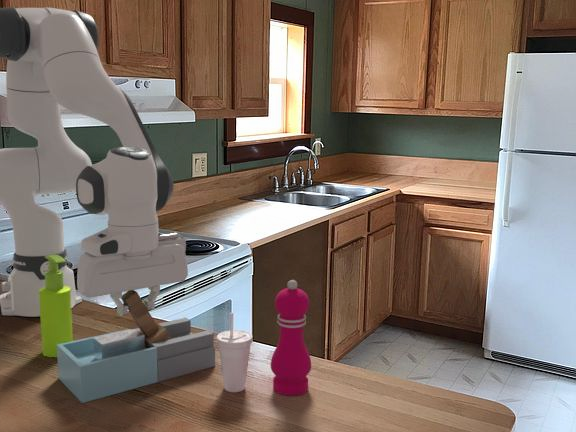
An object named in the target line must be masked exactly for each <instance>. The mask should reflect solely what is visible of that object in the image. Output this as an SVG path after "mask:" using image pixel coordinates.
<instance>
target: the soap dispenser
mask: <svg viewBox="0 0 576 432" xmlns="http://www.w3.org/2000/svg"><path fill="white" fill-rule="evenodd" d="M46 259H48V260H49V270H48V271H47V272H45V287H44V288H42V289H40V290H39V302H40V316H39V317H40V333H41V335H40V336H41V352H42V355H43V356H44V357H46V356H47V357H46V358H52V357H54V358H57V344H62V343H67V342H71V341H74V339H73V337H74V336H73V334H74V333H73V315H72V308H71V290H70V287H68V286H64V283H63V271H60V270H59V269H58V264H61V263H65V262H66V261H65V260H64V259H63V258H62V257H61V256H59V255H48V256H46Z"/></svg>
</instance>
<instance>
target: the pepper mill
mask: <svg viewBox="0 0 576 432" xmlns="http://www.w3.org/2000/svg"><path fill="white" fill-rule="evenodd" d="M286 286H287V287H286V288H283V289H282V290H280V291H279V292H278V293H277V295H276V296H275V299H274V307H275V309H276V311H277V313H278V314H277V322H276V323H277V324H278V325H279V329H280V333H279V340H278V343H277V345H276V347H275V350H274V351H273V354H272V356H271V359H270V369H271V371H272V373H273V374H274V377H273V380H272V384H273V385H272V388H273V390H274V391H275V392H276V393H278V395H279V394H280V395H281V396H282V395H283V396H289V397H290V396H291V397H292V396H300V395H302V394H304V393H306V392H307V391H308V388H309V378H308V375H309V373H310V372H311V370H312V359H311V355H310V352H309V351H308V348H307V346H306V343H305V340H304V326H305V325H306V324H307V321H306V320H307V316H306V315H305V314H306V313H307V312H308V310H309V308H310V299H309V296H308V294H307V292H305V291H304V290H303V289H300V288H298V283H297V281H296V280H295V279H291V280H289V281H288V282H287V285H286Z"/></svg>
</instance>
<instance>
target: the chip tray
mask: <svg viewBox="0 0 576 432" xmlns="http://www.w3.org/2000/svg"><path fill="white" fill-rule="evenodd" d="M127 330H131V329H130V328H128V329H124V330H123V329H122V330H118V331H114V332H113V331H112V332H109V333H105V334H101V335H95V336H90V337H85V338H81V339H77V340H73V341H71V342H67V343H62V344H57V357H56V359H57V374H58V375H57V376H58V379H59V380H60V382H61V383H62V384H64V386H65V387H66V388H67V389H68V390H69V391H70V393H72V395H73V396H75V398H76V399H77V400H78V401H79V402H80V403H81V404H84V403H89V402H91V401H95V400H99V399H102V398H105V397H109V396H112V395H117V394H120V393H124V392H128V391H131V390H134V389H138V388H142V387H145V386H149V385H153V384H156V383H159V382H158V373H157V348H156V347H152V348H148V349H144V350H140V351H136V352H131V353H127V354H123V355H119V356H115V357H111V358H107V359H102V360H98V361H96V360H95V359H94V345H93V338H94V337H98V336H103V335H107V334H112V333H118V332H122V331H127Z"/></svg>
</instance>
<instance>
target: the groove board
mask: <svg viewBox="0 0 576 432" xmlns="http://www.w3.org/2000/svg"><path fill="white" fill-rule="evenodd" d="M191 322H192V321H191V319H189V318H187V317H182V318H178V319H172V320H169V321H164V322H160V323H158V324H159V325H161V326H162V327H164V328H165V329H166V330H167V331H168V333H169V335H170V337H171V338H172V339H170V340H165V341H161V342H157V343H153V344H151V348H152V347H156V348H157V373H158V382H157V383H159V382H163V381H168V380H170V379H174V378H178V377H182V376H185V375H188V374H192V373H195V372H199V371H200V372H201V371H202V370H207V369H210V368H214V367H216V346H215V345H214V343H215V341H214V339H215V338H214V337H215V335H214V332H212V331H210V330H205V331H199V332H196V333H193V332H192V329H191V324H192V323H191ZM132 329H133V328H131V329H130V330H132ZM135 329H136V330H138V331H140V329H139V327H136V328H135ZM145 349H148V348H146V347H145Z"/></svg>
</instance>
